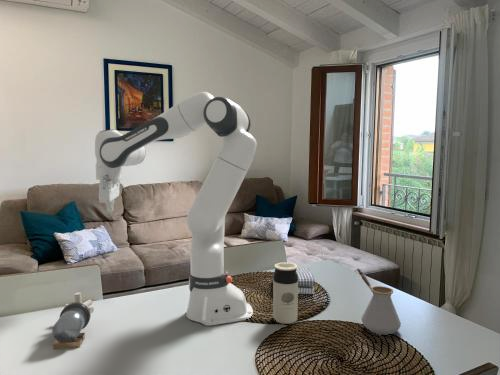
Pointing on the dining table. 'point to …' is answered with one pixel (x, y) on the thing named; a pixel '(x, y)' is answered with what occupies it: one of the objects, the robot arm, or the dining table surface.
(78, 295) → the beige crossed rods piece
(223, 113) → the robot arm
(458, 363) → the dining table surface
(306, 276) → the towel
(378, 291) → the coffee pot
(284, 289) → the travel mug
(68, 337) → the lidded storage canister
